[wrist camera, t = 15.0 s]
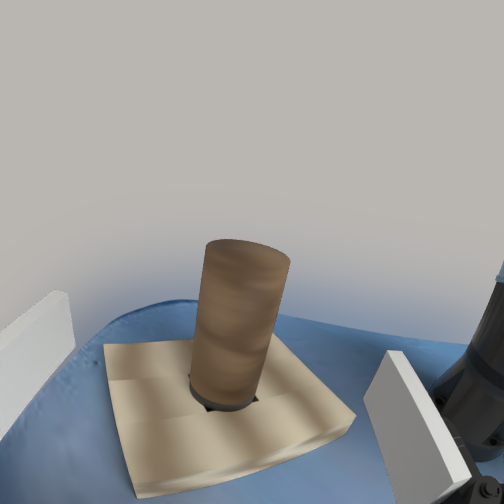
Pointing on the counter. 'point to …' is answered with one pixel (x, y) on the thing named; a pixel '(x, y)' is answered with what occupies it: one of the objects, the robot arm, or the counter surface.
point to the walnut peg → (235, 321)
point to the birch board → (213, 418)
